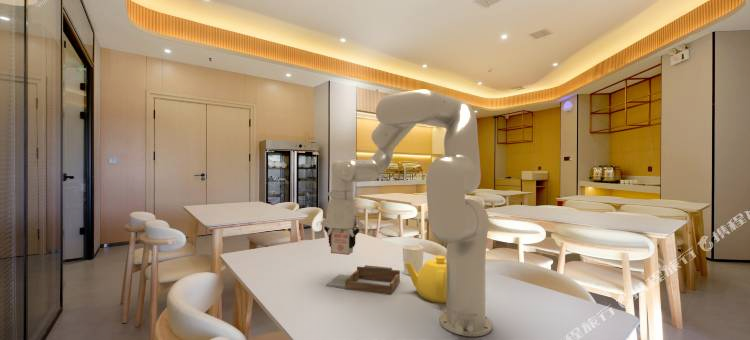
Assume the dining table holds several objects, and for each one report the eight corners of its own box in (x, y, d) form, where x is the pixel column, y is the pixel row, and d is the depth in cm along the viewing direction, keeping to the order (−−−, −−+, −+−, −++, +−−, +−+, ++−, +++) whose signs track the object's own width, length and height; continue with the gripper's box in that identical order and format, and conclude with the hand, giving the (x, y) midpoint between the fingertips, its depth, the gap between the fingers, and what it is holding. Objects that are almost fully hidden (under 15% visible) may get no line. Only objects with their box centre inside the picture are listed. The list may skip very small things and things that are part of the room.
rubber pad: (345, 288, 104) (345, 286, 104) (325, 286, 106) (325, 284, 106) (356, 277, 115) (356, 276, 115) (339, 275, 117) (339, 274, 117)
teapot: (440, 311, 88) (440, 267, 88) (402, 291, 102) (402, 254, 102) (479, 297, 97) (479, 258, 97) (439, 281, 111) (439, 247, 111)
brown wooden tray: (391, 294, 99) (391, 280, 99) (345, 289, 104) (345, 275, 104) (399, 281, 111) (399, 268, 111) (358, 277, 115) (358, 264, 116)
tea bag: (335, 250, 113) (335, 222, 113) (352, 252, 111) (353, 223, 111) (330, 253, 110) (330, 224, 110) (348, 254, 108) (349, 225, 108)
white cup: (424, 276, 116) (424, 249, 116) (403, 276, 116) (403, 249, 116) (422, 270, 124) (422, 244, 124) (402, 269, 124) (402, 244, 124)
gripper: (314, 195, 110) (314, 247, 110) (361, 197, 104) (361, 251, 104) (324, 194, 117) (324, 242, 117) (369, 195, 112) (368, 246, 112)
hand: (341, 246), depth 111 cm, fingers closed on tea bag, 6 cm apart
